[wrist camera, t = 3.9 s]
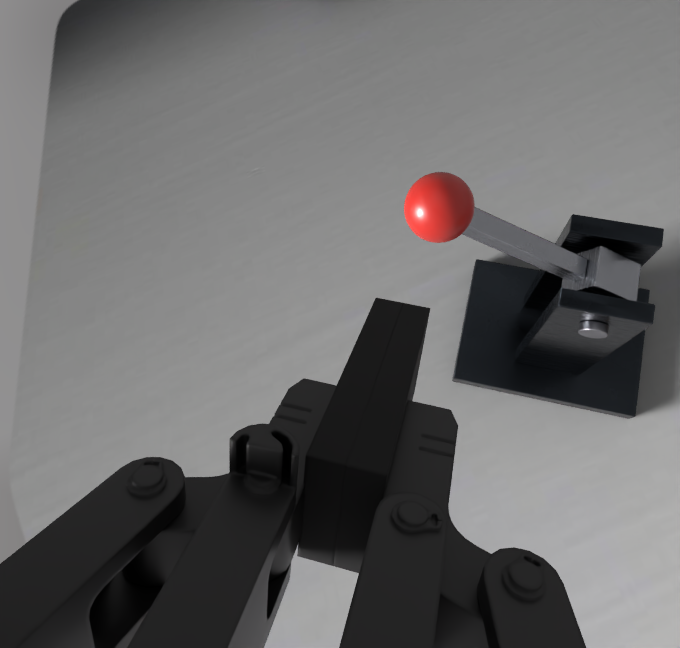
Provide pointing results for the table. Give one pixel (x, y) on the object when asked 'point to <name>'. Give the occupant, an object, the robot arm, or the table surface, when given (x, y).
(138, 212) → the table surface
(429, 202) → the lever
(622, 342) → the bracket
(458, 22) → the table surface
